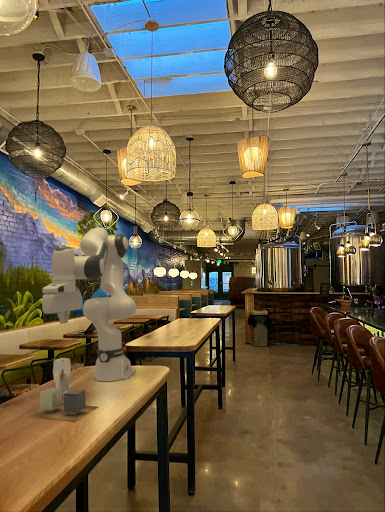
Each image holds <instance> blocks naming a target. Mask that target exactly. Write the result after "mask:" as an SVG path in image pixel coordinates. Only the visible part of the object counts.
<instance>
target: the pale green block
mask: <svg viewBox="0 0 385 512" xmlns="http://www.w3.org/2000/svg"><path fill="white" fill-rule="evenodd" d="M39 396H40V397H39V409H40V410H43V409H44V410H46V413H53V412H55V411H57V408H58V407H60V406H62V403H63V396H62V388H55V387H48V388H46V389H43V390H41V391H39Z"/></svg>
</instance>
